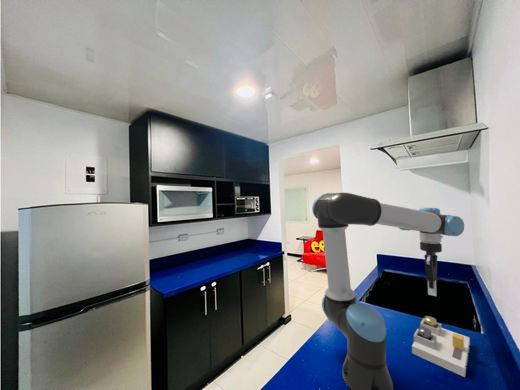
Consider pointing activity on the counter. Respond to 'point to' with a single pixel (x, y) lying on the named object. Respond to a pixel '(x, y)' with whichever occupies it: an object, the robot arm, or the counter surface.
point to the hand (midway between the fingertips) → (432, 294)
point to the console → (441, 349)
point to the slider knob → (458, 341)
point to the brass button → (430, 321)
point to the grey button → (425, 333)
